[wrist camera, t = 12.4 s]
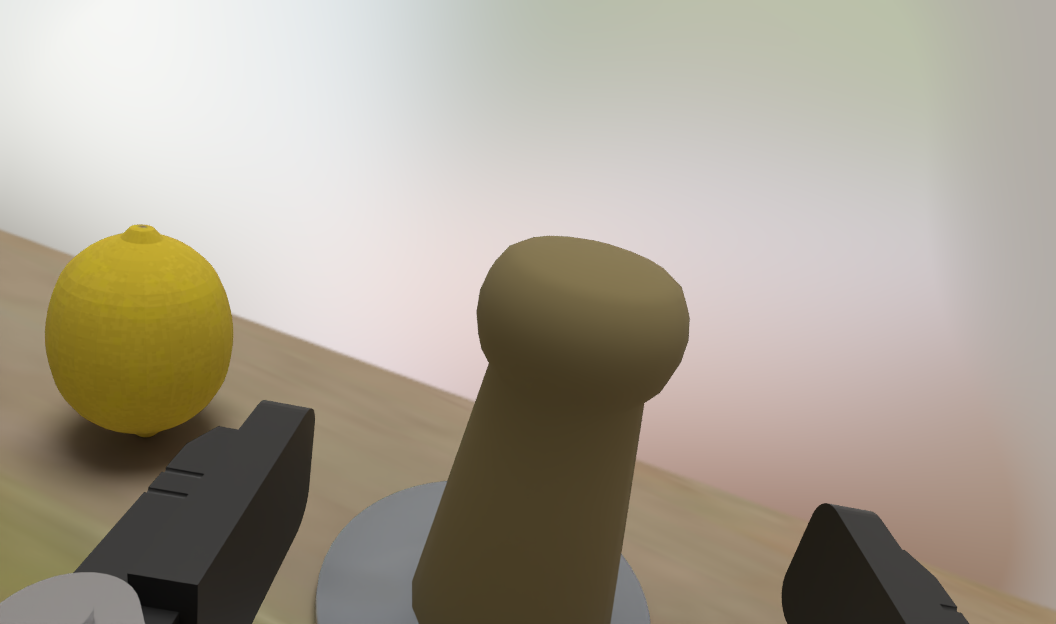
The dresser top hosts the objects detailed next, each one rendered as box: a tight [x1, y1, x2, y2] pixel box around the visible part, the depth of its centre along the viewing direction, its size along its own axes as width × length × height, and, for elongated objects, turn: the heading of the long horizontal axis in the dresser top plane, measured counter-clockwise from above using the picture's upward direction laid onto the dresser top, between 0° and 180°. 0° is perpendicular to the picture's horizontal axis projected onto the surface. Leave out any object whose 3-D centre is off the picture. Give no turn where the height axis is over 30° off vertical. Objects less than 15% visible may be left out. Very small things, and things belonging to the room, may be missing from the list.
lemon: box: [45, 225, 233, 437], centre depth 23 cm, size 6×6×8 cm
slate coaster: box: [315, 481, 650, 624], centre depth 20 cm, size 10×10×1 cm
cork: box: [412, 236, 690, 624], centre depth 18 cm, size 6×6×11 cm
